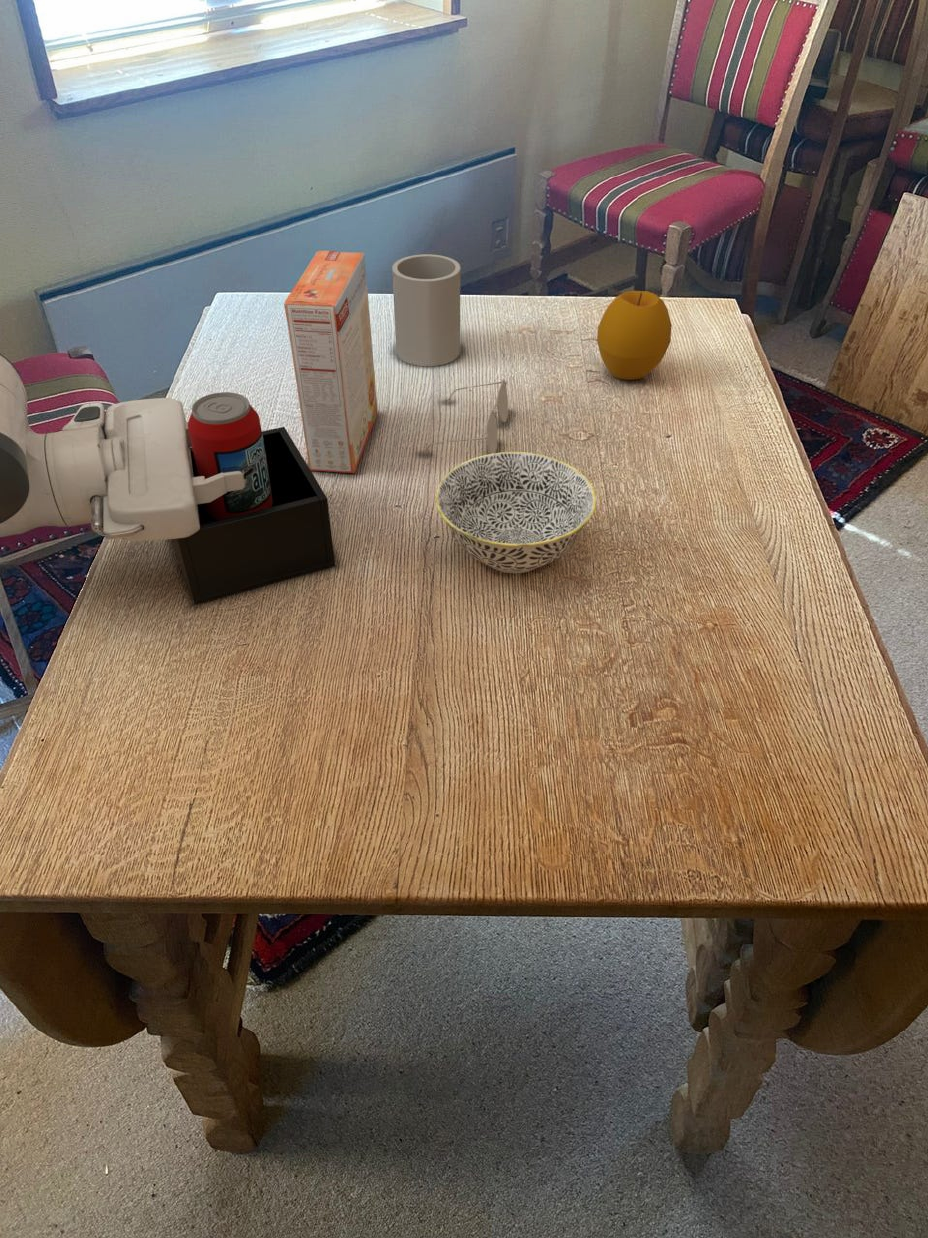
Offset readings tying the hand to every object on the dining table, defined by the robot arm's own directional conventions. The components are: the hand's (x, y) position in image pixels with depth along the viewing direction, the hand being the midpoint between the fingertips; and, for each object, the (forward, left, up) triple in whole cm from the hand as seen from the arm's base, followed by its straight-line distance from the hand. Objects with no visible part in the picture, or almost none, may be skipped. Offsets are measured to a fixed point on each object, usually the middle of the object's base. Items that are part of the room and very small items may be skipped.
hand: (239, 454), depth 89 cm
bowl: (+24, -13, -11) cm, 30 cm away
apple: (+56, +15, -11) cm, 59 cm away
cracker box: (+15, +15, -11) cm, 24 cm away
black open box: (-1, 0, -11) cm, 11 cm away
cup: (+34, +33, -11) cm, 49 cm away
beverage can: (-1, 0, -7) cm, 7 cm away
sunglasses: (+30, +11, -11) cm, 34 cm away
